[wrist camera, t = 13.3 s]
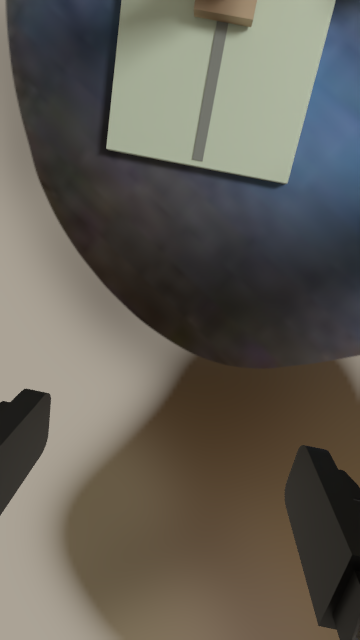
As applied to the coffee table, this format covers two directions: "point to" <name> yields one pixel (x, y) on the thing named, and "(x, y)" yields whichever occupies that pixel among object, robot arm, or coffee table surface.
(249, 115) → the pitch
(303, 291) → the coffee table surface
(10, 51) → the coffee table surface
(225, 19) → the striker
